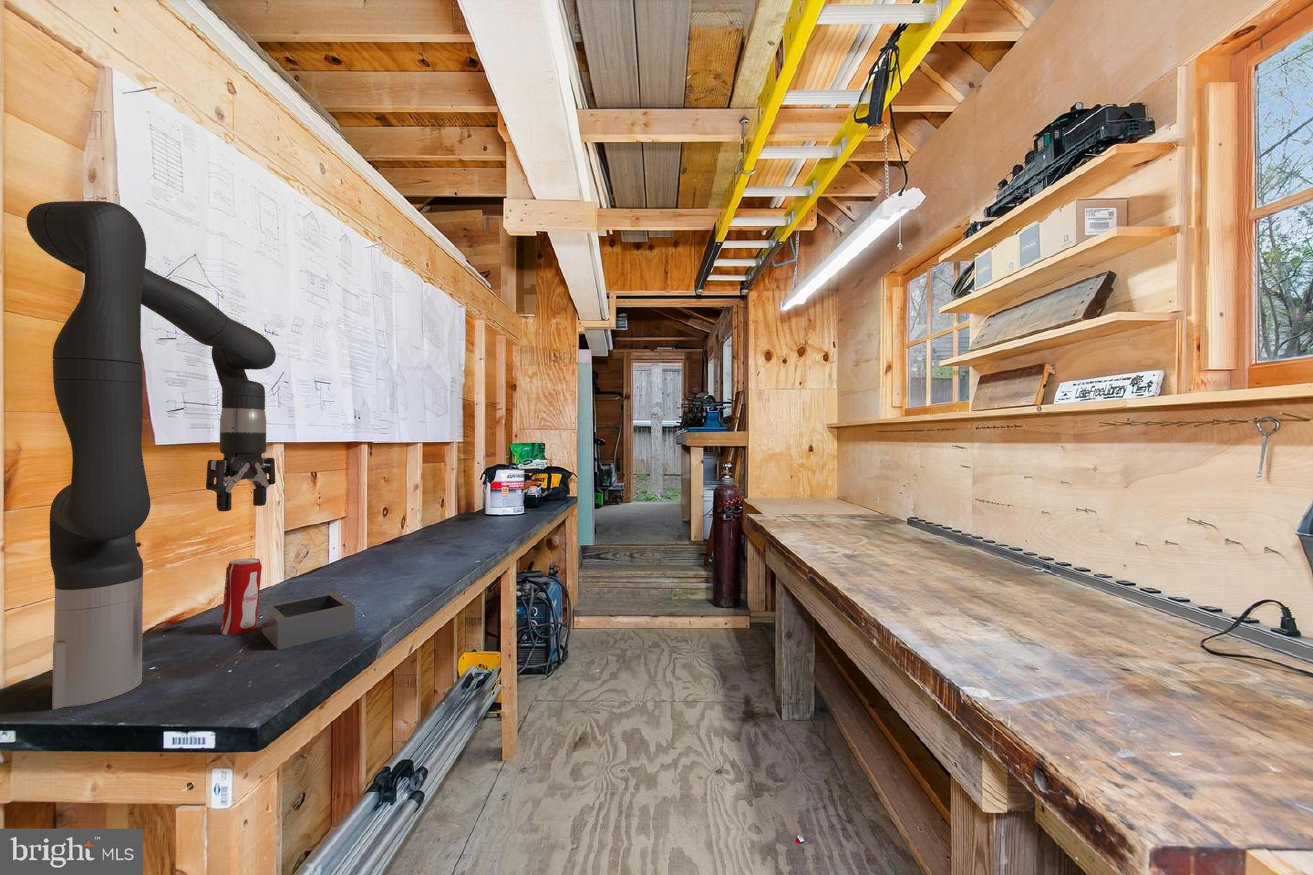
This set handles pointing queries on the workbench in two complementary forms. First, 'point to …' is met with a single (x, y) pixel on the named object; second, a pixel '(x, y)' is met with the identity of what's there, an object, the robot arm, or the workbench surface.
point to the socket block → (307, 620)
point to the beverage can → (241, 596)
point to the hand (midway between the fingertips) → (242, 508)
